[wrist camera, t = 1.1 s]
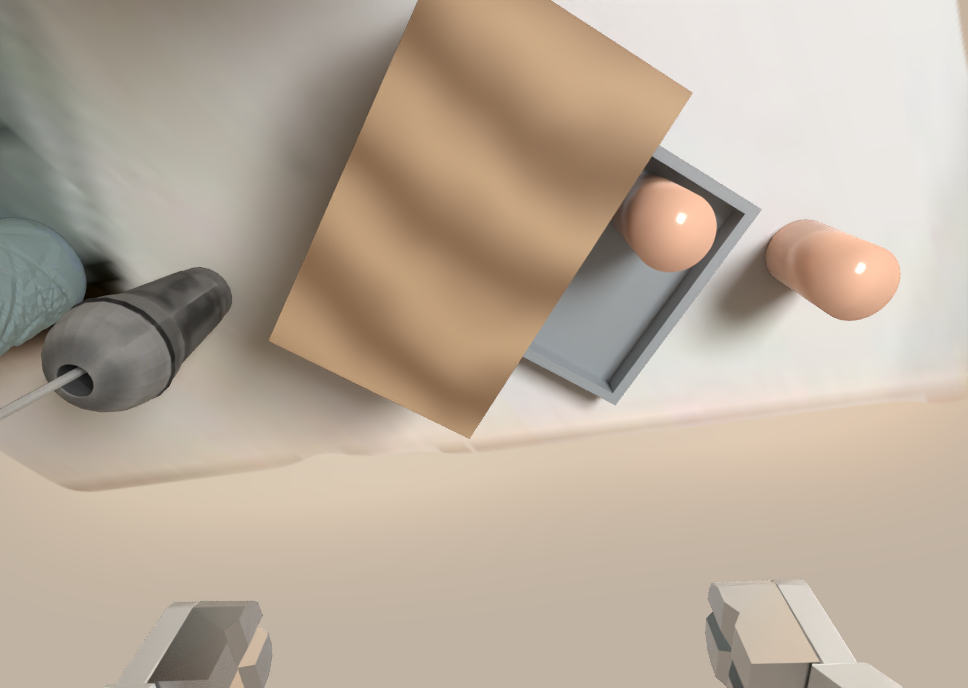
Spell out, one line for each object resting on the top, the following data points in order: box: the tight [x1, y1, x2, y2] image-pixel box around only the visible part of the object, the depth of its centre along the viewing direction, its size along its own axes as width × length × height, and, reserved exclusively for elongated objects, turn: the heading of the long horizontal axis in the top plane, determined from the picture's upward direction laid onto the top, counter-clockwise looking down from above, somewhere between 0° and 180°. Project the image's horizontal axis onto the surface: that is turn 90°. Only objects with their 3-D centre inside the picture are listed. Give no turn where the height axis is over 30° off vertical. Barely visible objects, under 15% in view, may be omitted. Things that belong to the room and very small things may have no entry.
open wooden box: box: [269, 0, 692, 439], centre depth 36 cm, size 22×13×14 cm, turn 151°
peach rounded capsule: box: [765, 219, 900, 321], centre depth 40 cm, size 5×5×8 cm
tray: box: [523, 146, 762, 405], centre depth 43 cm, size 18×15×3 cm
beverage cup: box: [0, 267, 232, 420], centre depth 38 cm, size 7×7×20 cm
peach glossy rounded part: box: [611, 173, 717, 272], centre depth 39 cm, size 5×5×8 cm
